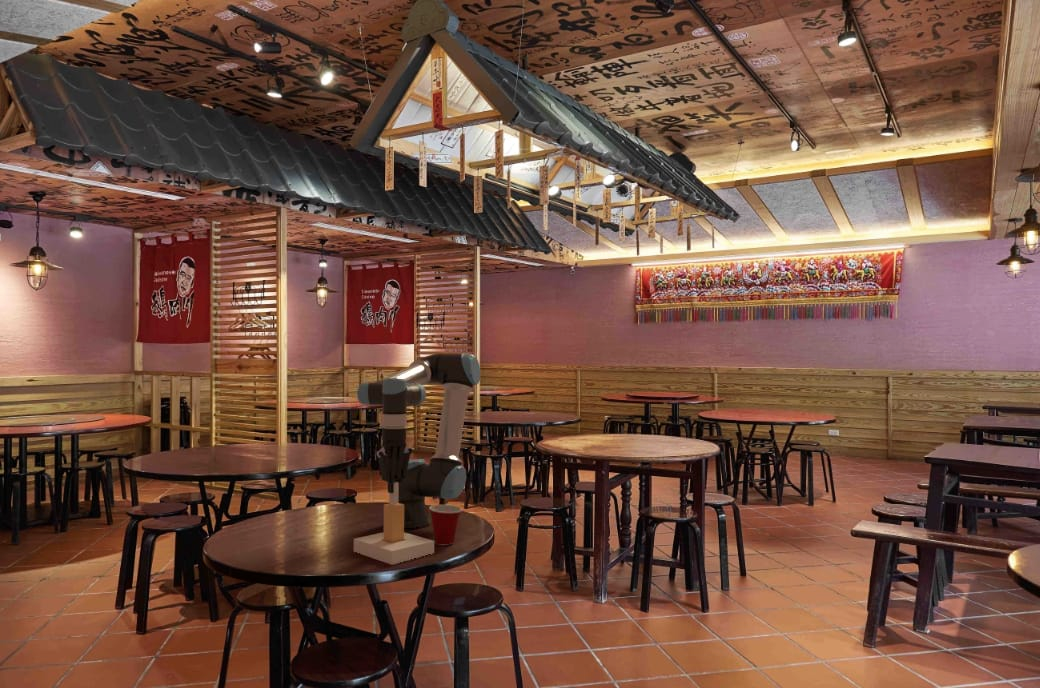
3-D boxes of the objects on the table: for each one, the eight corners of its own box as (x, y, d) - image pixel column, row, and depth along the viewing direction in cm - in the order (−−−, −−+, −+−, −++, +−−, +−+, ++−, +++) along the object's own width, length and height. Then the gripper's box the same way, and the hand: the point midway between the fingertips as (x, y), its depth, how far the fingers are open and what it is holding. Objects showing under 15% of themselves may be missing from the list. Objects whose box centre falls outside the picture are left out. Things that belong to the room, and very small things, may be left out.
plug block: (395, 549, 225) (395, 502, 225) (403, 552, 222) (404, 504, 222) (383, 552, 222) (383, 504, 222) (392, 555, 218) (392, 506, 219)
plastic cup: (461, 548, 227) (462, 510, 227) (427, 548, 227) (428, 510, 227) (462, 539, 238) (462, 503, 238) (429, 539, 237) (430, 503, 238)
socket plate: (395, 541, 234) (395, 529, 234) (434, 553, 221) (434, 540, 221) (353, 551, 223) (353, 538, 223) (392, 564, 209) (392, 551, 209)
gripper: (403, 425, 229) (403, 498, 229) (369, 428, 220) (369, 504, 220) (418, 426, 224) (417, 501, 224) (384, 429, 215) (383, 507, 214)
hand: (393, 502), depth 222 cm, fingers closed
